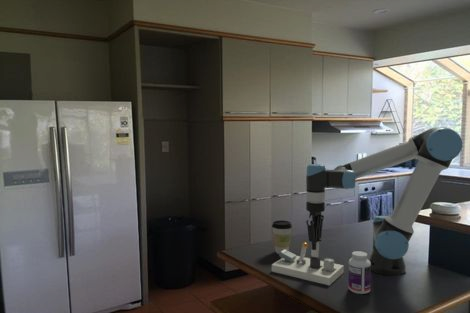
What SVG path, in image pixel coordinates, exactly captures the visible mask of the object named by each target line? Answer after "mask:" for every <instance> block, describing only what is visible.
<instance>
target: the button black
mask: <svg viewBox="0 0 470 313" xmlns="http://www.w3.org/2000/svg"><path fill="white" fill-rule="evenodd" d="M309 258H310V267H311V268H314V269H318V268H320V261H321V256H319V257H318V258H316V257H312V256H310V257H309Z"/></svg>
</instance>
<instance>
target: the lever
mask: <svg viewBox="0 0 470 313" xmlns="http://www.w3.org/2000/svg"><path fill="white" fill-rule="evenodd" d="M308 247H309V246H308V243H307V242H303V243H302V244H301V250H300V255H299V256H300V258H299V262H302V261H303V260H304V258H305V256H306V252H307V248H308Z"/></svg>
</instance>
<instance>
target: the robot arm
mask: <svg viewBox="0 0 470 313" xmlns="http://www.w3.org/2000/svg"><path fill="white" fill-rule="evenodd" d="M462 149H463V139H462V138H461V135H460V134H459V133H458V132H457V131H455V130H453V129H451V128H449V127H444V126H442V127H432V128H430V129H426V130H425V131H423V132H421V133H419V134H416V135H414V136H411V137H409V139H408V141H407V140H406V141H405V142H402V143H399V144H397V145H394V146H391V147H388V148H386V149H383V150H381V151H378V152H376V153H373V154H370V155H367V156H365V157H362V158H361V157H360V158H359V159H356V160H353V161H350V162H349V163H346V164H343V165H337V166H336V167H334V168H333V169H327V168H326V165H325V164H321V163H313V164H312V163H311V164H308V165H307V167H306V182H305V183H306V185H305V186H306V192H305V195H306V202H305V204H306V208H305V209H306V211H307V212H309V214H308V219H307V220H306V221H305V222H306V225H307V234H308V242H310V243H311V247H310V248H311V251H310V252H311V256H312V257H316V258H318V257H320V255H319V254H320V242H322V233H323V226H324V225H323V224H324V223H323V222H324V218H325V215H324V214H323V215H322V213H323V212H325V208H326V207H325V206H326V203H325V201H326V189H329V188H330V189H331V188H332V189H345V190H348V189H351V190H352V189H355V187H356V180H357V179H360V178H362V177H364V176H365V177H366V176H368V175H371V174H374V173H377V172H380V171H382V170H386V169H389V168H391V167H394V166H397V165H400V164H403V163H406V162H409V161H411V160H414V159H416V160H418V162H417V163H416V165H415V168H414V169H413V171H412V173H411V175H410V177H409V179H408V181H407V182H406V184H405V187H404V189H403V190H402V193H401V195H399V197H398V201H397V202H396V203H395V205H394V208H393V210H392V212H391V213H390V215H376V216H374V217H373V219H372V251H371V254H370V255H369V257H368V258H369V259H368V260H369V261H370V262H371V272H374V273H377V274H380V275H385V276H400V275H404V274H405V273H406V266H407V265H406V262H405V260H404V256H406V254H407V252H408V251H409V245H410V244H409V242H410V240H411V238H412V236H413V235H414V234H415V233H414V232H415V231H414V228H413V225H414V223H415V222H416V220H417V217H418V216H419V214H420V213H421V210H422V208H423V206H424V204H425V203H426V201H427V199H428V197H429V196H430V193H431V191H432V189H433V187H434V185H435V184H436V183H437V181H438V178H439V176H440V174H441V172H442V171H444V170H447V169H449V167H450V165H451V163H452V162H453V160H455V158H457V157H458V155H460V154H461V152H462ZM311 256H310V257H311Z"/></svg>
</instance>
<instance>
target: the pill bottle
mask: <svg viewBox="0 0 470 313" xmlns="http://www.w3.org/2000/svg"><path fill="white" fill-rule="evenodd" d="M371 275H372V270H371V262H370V261H369V259H368V253H367V252H364V251H360V250H359V251H357V250H356V251H355V250H354V251H353V252H351V258H350V259H349V260H348V276H347V278H348V279H347V280H348V282H347V283H348V284H347V285H348V286H347V288H348V290H350V291H351V292H352V293H354V294H356V295H357V294H358V295H363V294H368V293H370V292H371V289H372V287H371V286H372V285H371V283H372V282H371V281H372V278H371V277H372V276H371Z"/></svg>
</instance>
